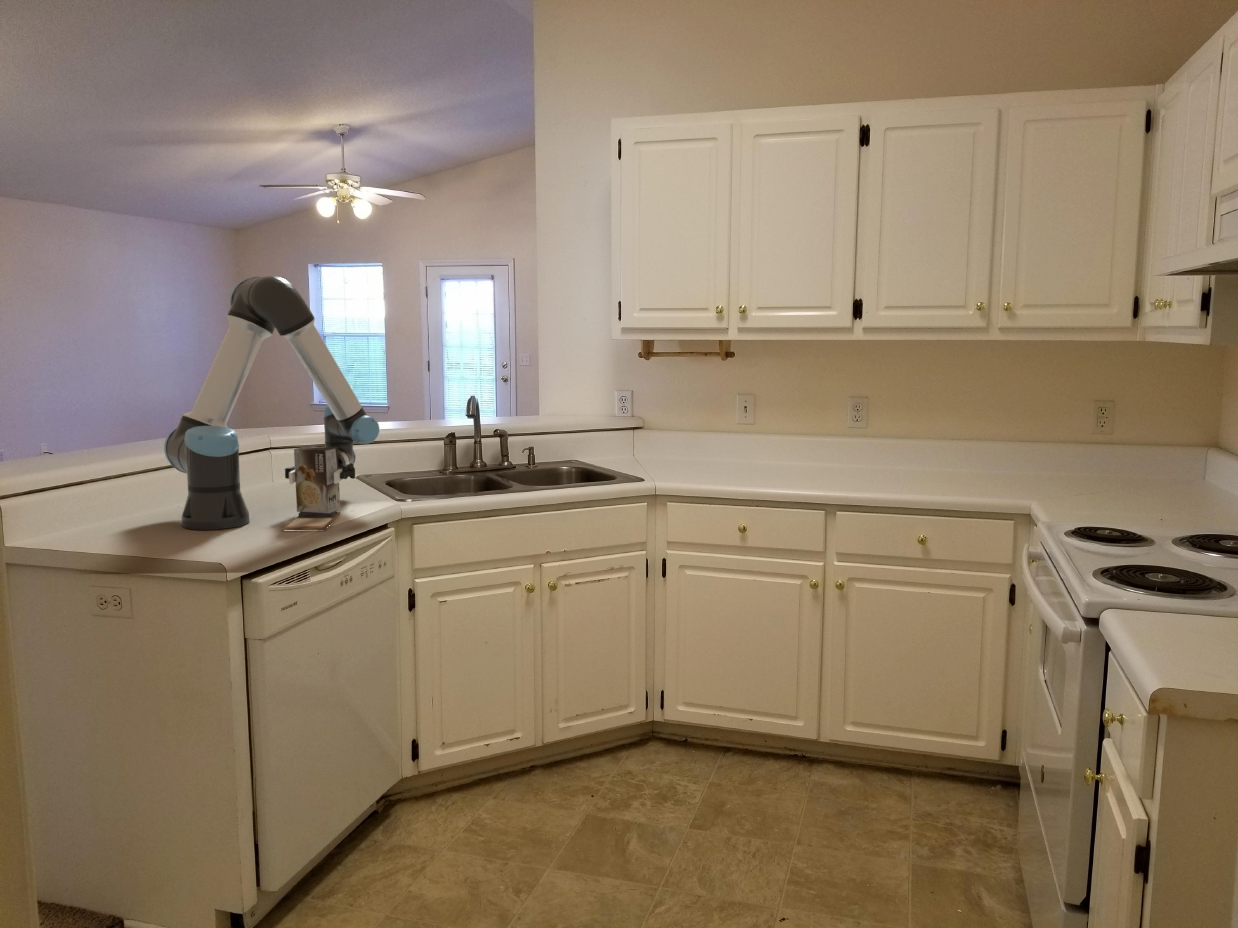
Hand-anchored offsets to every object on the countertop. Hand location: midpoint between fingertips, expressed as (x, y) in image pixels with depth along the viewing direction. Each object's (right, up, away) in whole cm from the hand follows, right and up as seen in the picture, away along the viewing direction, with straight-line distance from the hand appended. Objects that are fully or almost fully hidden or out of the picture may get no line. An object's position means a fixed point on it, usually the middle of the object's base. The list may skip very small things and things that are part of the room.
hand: (313, 478), depth 222 cm
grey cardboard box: (-1, -8, +6) cm, 10 cm away
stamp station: (0, -11, 0) cm, 11 cm away
